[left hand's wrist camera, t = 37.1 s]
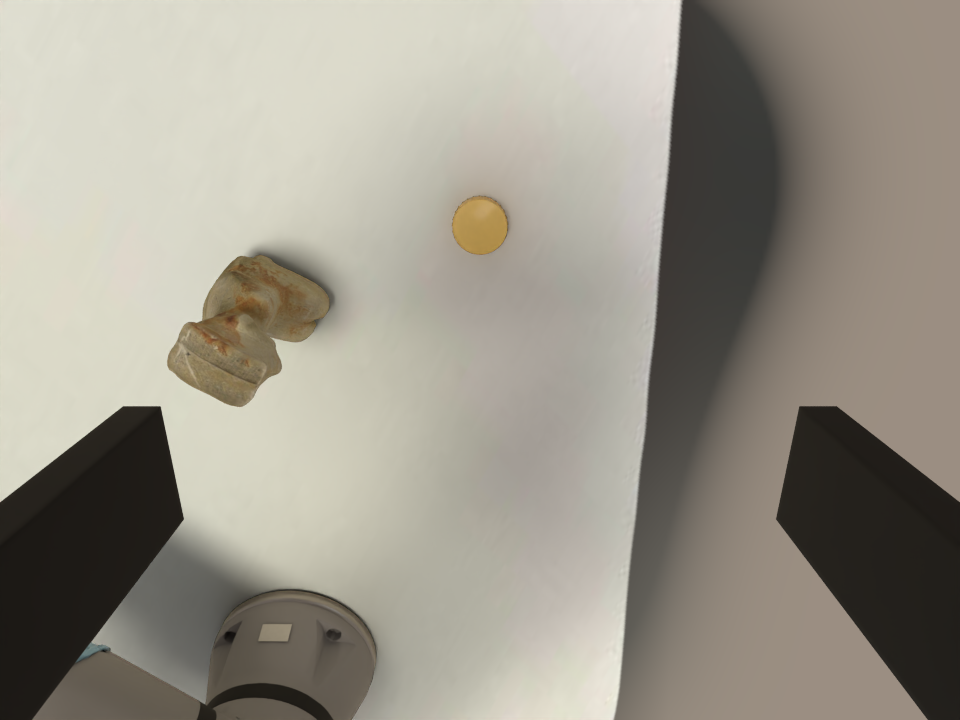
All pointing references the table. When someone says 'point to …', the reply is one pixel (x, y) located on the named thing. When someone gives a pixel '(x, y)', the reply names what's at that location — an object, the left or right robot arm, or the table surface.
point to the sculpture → (246, 328)
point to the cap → (479, 225)
